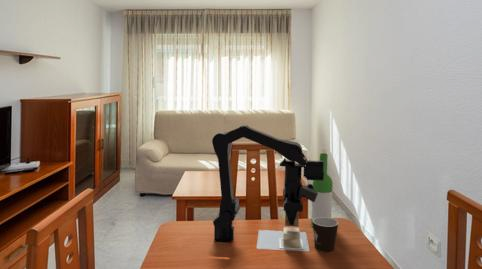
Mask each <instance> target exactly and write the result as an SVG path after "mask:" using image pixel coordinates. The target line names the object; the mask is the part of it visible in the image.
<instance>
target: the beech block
mask: <svg viewBox="0 0 482 269" xmlns="http://www.w3.org/2000/svg"><path fill="white" fill-rule="evenodd" d="M282 231H283V247H292V248H299V247H300V232H301V231H300V228H299V227H292V226H285V227H284V226H283V230H282Z"/></svg>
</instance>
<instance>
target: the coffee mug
mask: <svg viewBox="0 0 482 269" xmlns="http://www.w3.org/2000/svg"><path fill="white" fill-rule="evenodd" d="M338 228H339V221H338V220H336V219H334V218H332V217H331V218H327V217H318V218H314V219H313V227H312V230H313V242H314V248H315V250H317V251H319V252H322V253H323V252H324V253H330V252H333V251H335V245H336V240H337V239H336V238H337V235H338Z"/></svg>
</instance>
